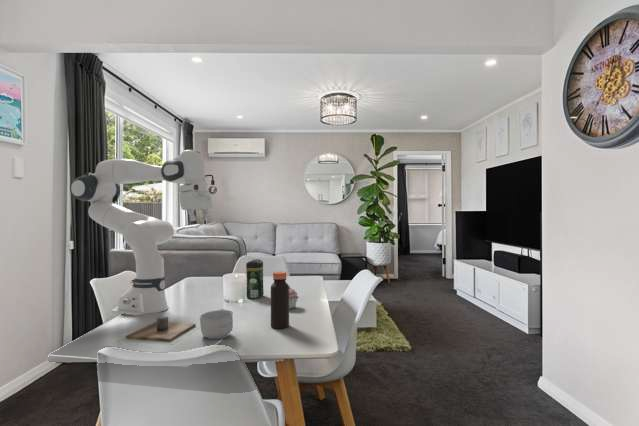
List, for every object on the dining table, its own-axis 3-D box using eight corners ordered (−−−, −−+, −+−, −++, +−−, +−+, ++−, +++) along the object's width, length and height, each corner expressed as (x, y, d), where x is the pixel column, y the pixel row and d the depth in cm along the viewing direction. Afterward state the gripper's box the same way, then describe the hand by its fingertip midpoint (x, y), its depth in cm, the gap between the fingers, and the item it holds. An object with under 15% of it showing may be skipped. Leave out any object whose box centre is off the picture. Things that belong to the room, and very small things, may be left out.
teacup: (223, 343, 117) (223, 318, 117) (193, 341, 119) (193, 317, 119) (241, 329, 131) (241, 307, 131) (213, 328, 133) (213, 306, 133)
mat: (116, 342, 119) (116, 340, 119) (154, 323, 138) (154, 322, 138) (171, 346, 115) (171, 344, 115) (203, 326, 135) (203, 325, 135)
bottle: (284, 330, 130) (284, 274, 130) (267, 328, 132) (267, 273, 132) (292, 324, 137) (291, 271, 136) (275, 322, 139) (275, 270, 139)
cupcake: (299, 310, 157) (299, 287, 156) (277, 310, 156) (277, 287, 156) (298, 304, 166) (298, 282, 166) (278, 305, 165) (278, 283, 165)
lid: (126, 338, 120) (126, 323, 120) (156, 324, 136) (156, 310, 136) (169, 341, 117) (169, 326, 117) (195, 326, 133) (195, 312, 133)
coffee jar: (249, 294, 187) (249, 258, 187) (265, 294, 186) (264, 258, 186) (244, 299, 177) (244, 261, 177) (260, 299, 176) (260, 261, 176)
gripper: (201, 190, 164) (204, 220, 164) (175, 187, 144) (178, 222, 144) (214, 188, 163) (217, 219, 163) (190, 185, 143) (193, 220, 143)
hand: (199, 220), depth 153 cm, fingers open, 8 cm apart
